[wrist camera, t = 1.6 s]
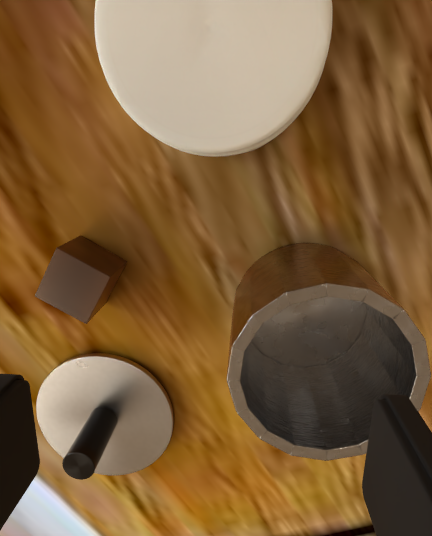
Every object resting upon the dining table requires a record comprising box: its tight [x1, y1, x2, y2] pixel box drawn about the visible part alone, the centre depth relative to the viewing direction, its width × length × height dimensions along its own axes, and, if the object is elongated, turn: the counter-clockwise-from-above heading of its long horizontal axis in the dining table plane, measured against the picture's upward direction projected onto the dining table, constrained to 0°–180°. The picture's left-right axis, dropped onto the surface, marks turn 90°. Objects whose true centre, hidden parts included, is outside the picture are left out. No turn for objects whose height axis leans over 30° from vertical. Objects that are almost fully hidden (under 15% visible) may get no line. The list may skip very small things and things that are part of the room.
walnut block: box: [35, 236, 127, 324], centre depth 32 cm, size 4×4×4 cm
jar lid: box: [36, 353, 174, 479], centre depth 35 cm, size 13×13×7 cm
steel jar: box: [227, 243, 431, 461], centre depth 29 cm, size 12×12×10 cm
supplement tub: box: [95, 0, 332, 156], centre depth 22 cm, size 10×10×15 cm
